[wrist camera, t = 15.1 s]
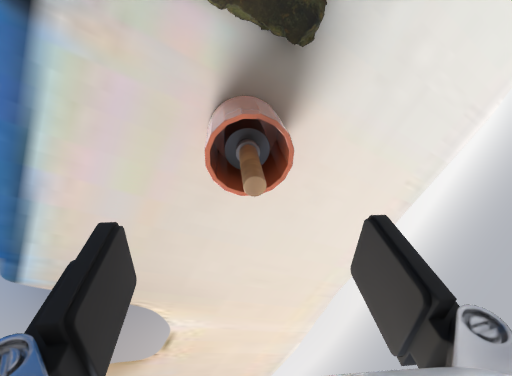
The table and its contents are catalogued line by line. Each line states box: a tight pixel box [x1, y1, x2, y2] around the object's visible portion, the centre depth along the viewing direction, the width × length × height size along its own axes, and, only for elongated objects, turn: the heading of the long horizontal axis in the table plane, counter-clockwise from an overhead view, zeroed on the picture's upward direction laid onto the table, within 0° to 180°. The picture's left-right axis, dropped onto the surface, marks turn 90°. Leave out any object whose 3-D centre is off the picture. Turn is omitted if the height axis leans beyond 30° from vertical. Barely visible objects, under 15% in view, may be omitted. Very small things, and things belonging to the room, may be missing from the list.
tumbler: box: [205, 96, 294, 196], centre depth 32 cm, size 9×9×8 cm
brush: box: [224, 119, 270, 196], centre depth 29 cm, size 5×5×13 cm
